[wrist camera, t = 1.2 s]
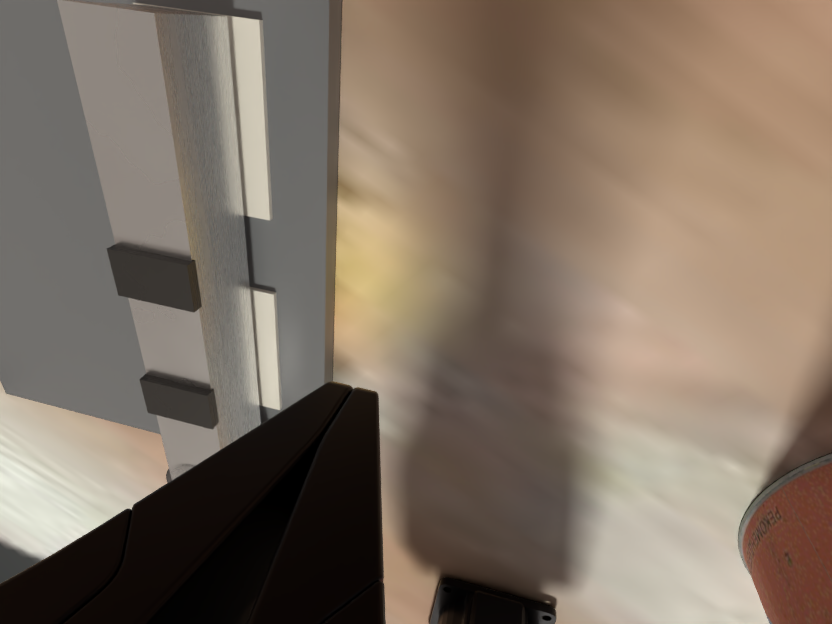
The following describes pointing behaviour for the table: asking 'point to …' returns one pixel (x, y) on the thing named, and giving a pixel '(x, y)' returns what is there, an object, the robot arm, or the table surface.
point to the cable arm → (173, 211)
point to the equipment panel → (91, 230)
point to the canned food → (792, 545)
